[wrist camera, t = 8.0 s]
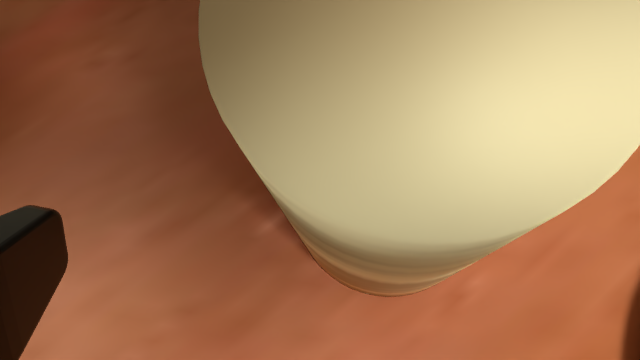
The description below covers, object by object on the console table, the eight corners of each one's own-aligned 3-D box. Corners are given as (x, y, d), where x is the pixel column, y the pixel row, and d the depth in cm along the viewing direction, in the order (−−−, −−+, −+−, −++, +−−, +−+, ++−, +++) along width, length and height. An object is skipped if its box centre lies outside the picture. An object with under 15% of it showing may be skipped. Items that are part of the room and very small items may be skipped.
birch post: (515, 239, 18) (782, 89, 7) (352, 331, 18) (338, 338, 6) (419, 88, 20) (504, -256, 8) (265, 171, 19) (125, -63, 8)
